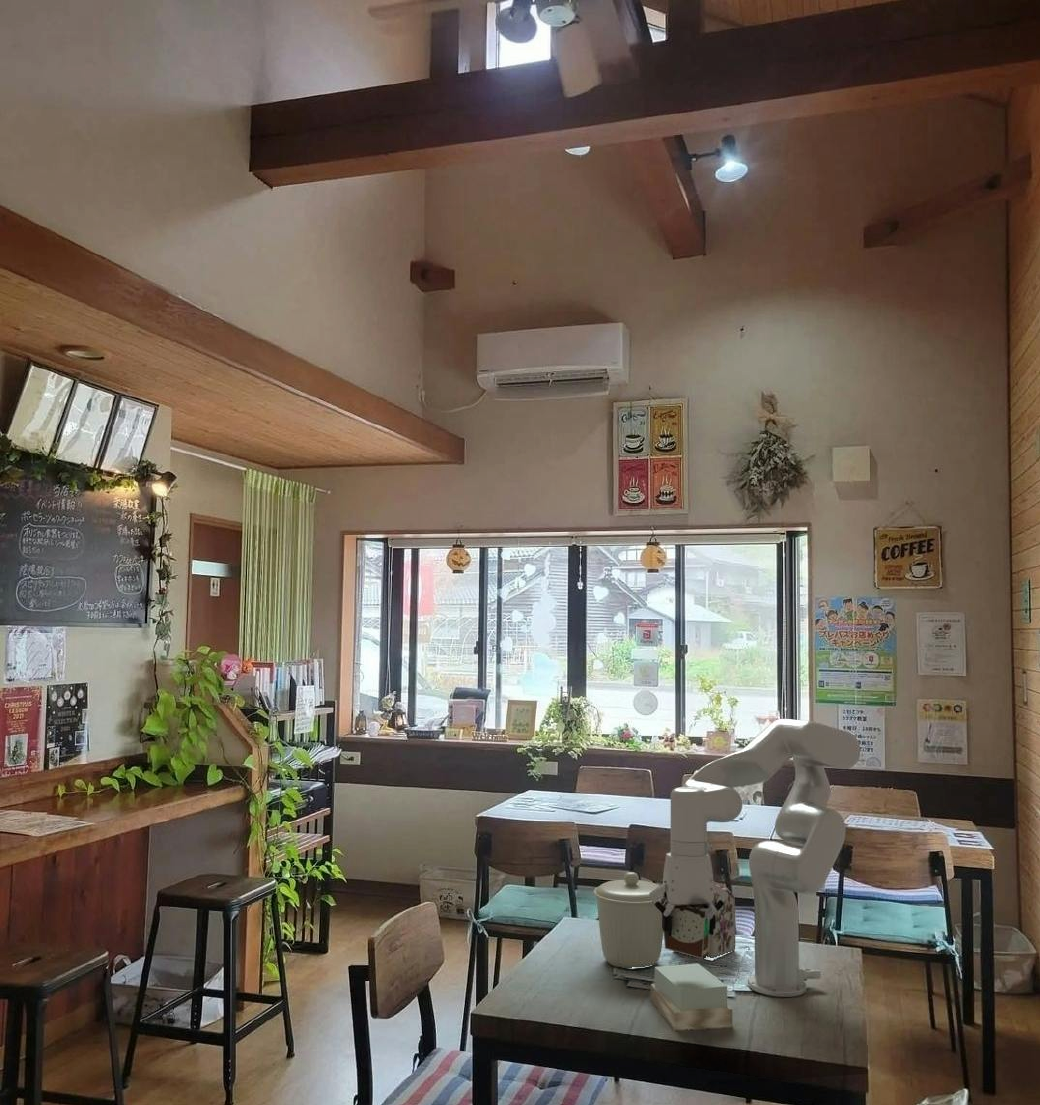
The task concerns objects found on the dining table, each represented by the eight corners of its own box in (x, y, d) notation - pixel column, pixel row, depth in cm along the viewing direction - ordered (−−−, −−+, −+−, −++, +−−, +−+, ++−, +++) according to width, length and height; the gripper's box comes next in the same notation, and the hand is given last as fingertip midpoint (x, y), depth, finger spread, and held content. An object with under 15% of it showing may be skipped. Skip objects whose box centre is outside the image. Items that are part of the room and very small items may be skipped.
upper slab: (698, 982, 211) (698, 963, 211) (727, 1006, 198) (727, 986, 198) (654, 986, 209) (654, 967, 209) (681, 1011, 195) (680, 990, 195)
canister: (579, 957, 237) (579, 868, 239) (640, 946, 246) (640, 860, 248) (621, 981, 221) (621, 885, 223) (685, 968, 230) (684, 876, 232)
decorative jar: (712, 963, 234) (712, 885, 236) (670, 952, 242) (670, 877, 243) (737, 951, 243) (736, 876, 245) (696, 941, 251) (695, 869, 252)
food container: (725, 954, 202) (725, 904, 202) (708, 961, 197) (708, 910, 198) (676, 940, 210) (676, 892, 211) (659, 947, 206) (658, 898, 207)
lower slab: (704, 1000, 212) (704, 981, 212) (732, 1029, 196) (732, 1009, 196) (650, 1003, 210) (650, 984, 210) (674, 1033, 194) (674, 1012, 194)
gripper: (722, 843, 210) (722, 927, 209) (643, 845, 208) (643, 929, 206) (734, 851, 203) (735, 938, 201) (653, 852, 200) (653, 940, 199)
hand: (688, 933), depth 204 cm, fingers closed on food container, 8 cm apart
